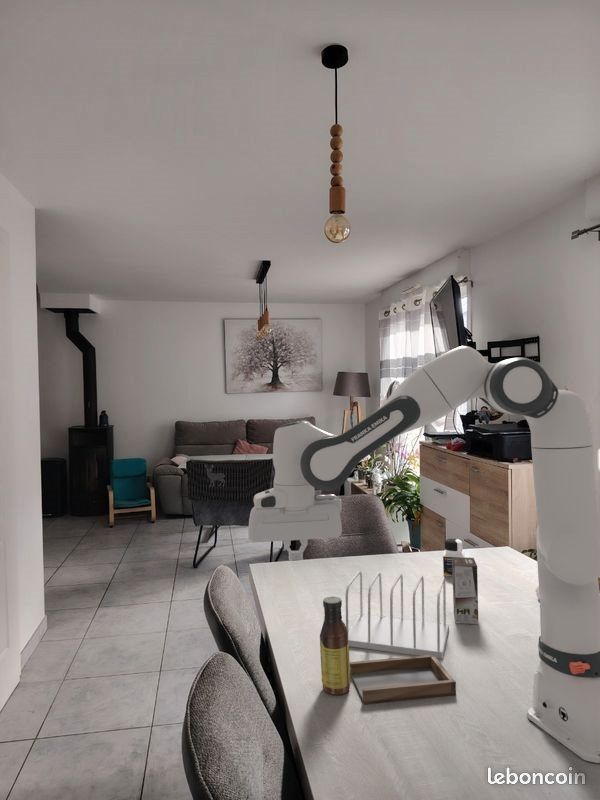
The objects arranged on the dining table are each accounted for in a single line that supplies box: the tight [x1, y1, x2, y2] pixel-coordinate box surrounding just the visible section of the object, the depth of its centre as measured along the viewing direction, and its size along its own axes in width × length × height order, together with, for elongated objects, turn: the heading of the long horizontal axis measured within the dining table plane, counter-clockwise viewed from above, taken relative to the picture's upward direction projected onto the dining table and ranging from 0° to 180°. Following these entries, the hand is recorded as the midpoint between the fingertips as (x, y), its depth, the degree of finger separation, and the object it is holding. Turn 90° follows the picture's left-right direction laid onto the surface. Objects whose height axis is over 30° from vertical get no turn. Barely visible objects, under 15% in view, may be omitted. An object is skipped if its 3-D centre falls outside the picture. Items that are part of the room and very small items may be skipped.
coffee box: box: [452, 557, 479, 625], centre depth 161 cm, size 9×6×16 cm
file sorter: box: [345, 570, 450, 659], centre depth 149 cm, size 25×17×16 cm
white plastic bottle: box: [442, 538, 465, 577], centre depth 201 cm, size 7×7×12 cm
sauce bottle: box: [319, 595, 351, 696], centre depth 123 cm, size 7×6×20 cm
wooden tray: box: [349, 655, 457, 705], centre depth 125 cm, size 13×20×3 cm, turn 98°
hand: (295, 559), depth 122 cm, fingers closed
